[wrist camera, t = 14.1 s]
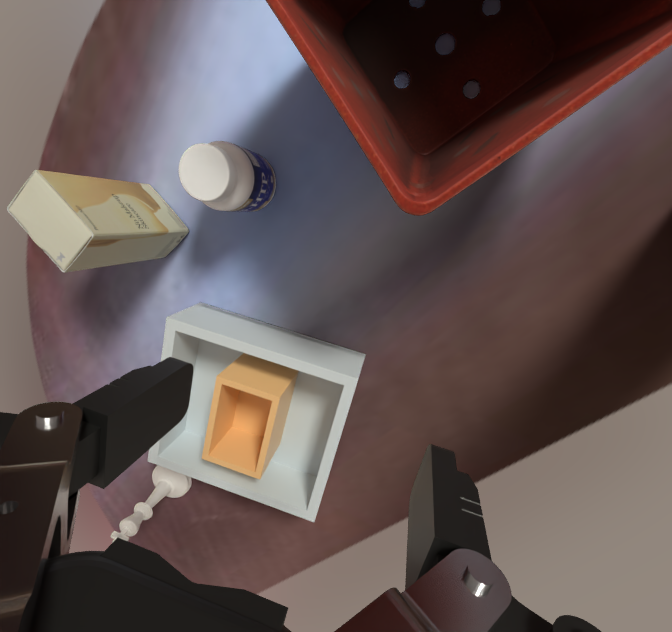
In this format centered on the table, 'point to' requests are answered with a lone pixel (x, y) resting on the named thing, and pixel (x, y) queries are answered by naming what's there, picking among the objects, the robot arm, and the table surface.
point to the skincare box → (95, 220)
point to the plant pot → (465, 77)
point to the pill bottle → (227, 177)
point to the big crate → (303, 416)
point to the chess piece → (154, 499)
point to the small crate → (248, 414)
